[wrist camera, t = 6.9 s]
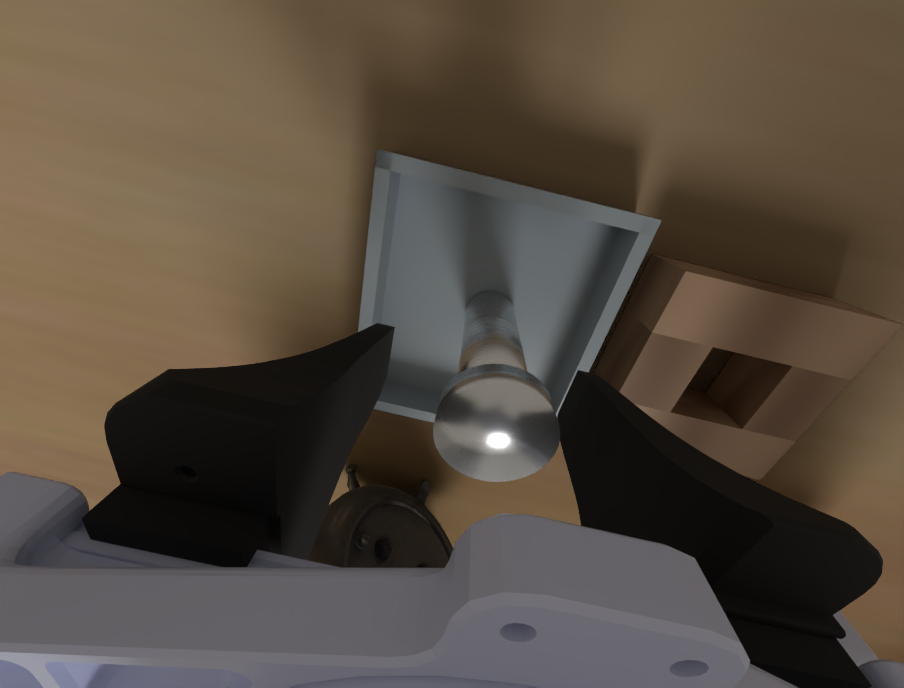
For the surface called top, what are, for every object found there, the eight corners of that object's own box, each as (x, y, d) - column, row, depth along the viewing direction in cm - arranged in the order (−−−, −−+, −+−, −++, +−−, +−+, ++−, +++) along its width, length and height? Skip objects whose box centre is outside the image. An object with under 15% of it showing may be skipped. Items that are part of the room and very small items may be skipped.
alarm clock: (323, 466, 24) (87, 907, 10) (372, 428, 22) (167, 909, 8) (433, 545, 27) (377, 970, 13) (484, 517, 25) (487, 983, 11)
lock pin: (533, 288, 17) (580, 401, 9) (512, 349, 18) (535, 492, 10) (464, 272, 16) (447, 370, 8) (449, 334, 18) (422, 467, 10)
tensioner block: (834, 299, 16) (903, 324, 14) (724, 439, 20) (760, 480, 18) (651, 254, 16) (685, 271, 13) (577, 405, 20) (592, 441, 17)
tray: (635, 212, 15) (661, 220, 13) (544, 419, 21) (551, 449, 19) (392, 152, 15) (376, 149, 13) (364, 378, 20) (350, 403, 18)
